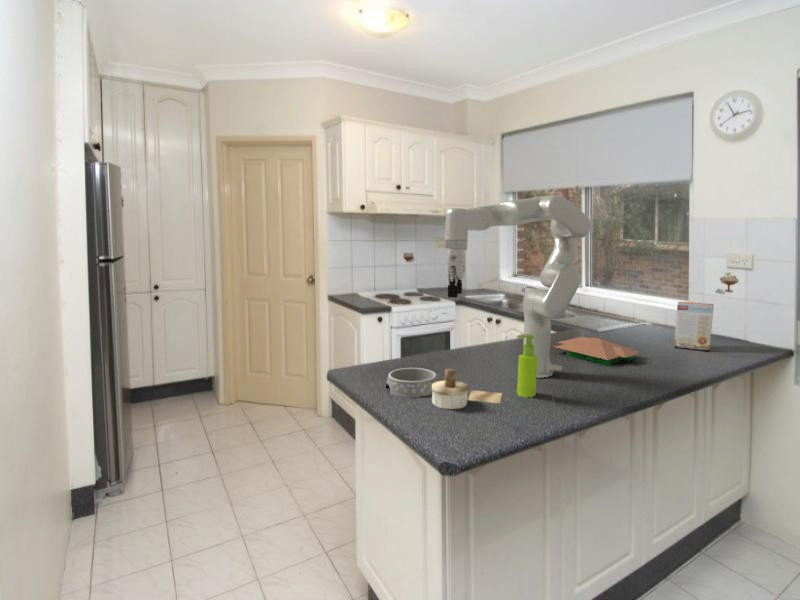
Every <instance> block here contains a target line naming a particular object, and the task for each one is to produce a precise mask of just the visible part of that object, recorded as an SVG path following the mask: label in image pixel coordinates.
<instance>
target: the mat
mask: <svg viewBox="0 0 800 600" xmlns="http://www.w3.org/2000/svg"><path fill="white" fill-rule="evenodd" d="M502 397H503V393H502V392H494V391H484V390H483V391H482V390H475V389H473V390H471V391H470V393H469V396H468V397H467V401H471V402H481V403H488V404H489V403H491V404H500V405H501V403H502V402H501V401H502Z"/></svg>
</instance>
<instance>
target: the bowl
mask: <svg viewBox="0 0 800 600" xmlns="http://www.w3.org/2000/svg"><path fill="white" fill-rule="evenodd" d="M431 404H432V405H434V406H435V407H437V408H440V409H445V410H457V409H462V408H465V407H466V406H467V404H468V393H466V394H464V395H459V396H446V395H440V394H437V393H435V392H433V391H432V394H431Z"/></svg>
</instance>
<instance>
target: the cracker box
mask: <svg viewBox="0 0 800 600" xmlns="http://www.w3.org/2000/svg"><path fill="white" fill-rule="evenodd" d="M714 305H715V304H713V303H704V302H703V303H702V302H693V301H692V302H691V301H690V302H689V301H678V302H677V307H676V310H677V311H676V317H675V330H674V345H677V346H687V347H695V348H705V349H711V348H710V347H711V339H712V338H711V337H712V329H713V327H712V326H713V318H714V314H713V313H714ZM674 345H673V346H674Z"/></svg>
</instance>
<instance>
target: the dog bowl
mask: <svg viewBox="0 0 800 600" xmlns="http://www.w3.org/2000/svg"><path fill="white" fill-rule="evenodd" d="M438 380H439V379H438V376H437V373H436V372H434V371H433V370H430V369H427V368H422V367H405V368H404V367H403V368H396V369H394V370H392V371H390V372H389V373H388V375H387V379H386V383H385V387H386V386H387V385H388V387H389V390H390V391H389V392H390V395H392V394H394V395H393V396H395V395H397V396H396V397H400V396H402V397H401V398H407V397H409V398H408V399H418V397H426V396H432V384H433V383H435V382H438Z"/></svg>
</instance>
